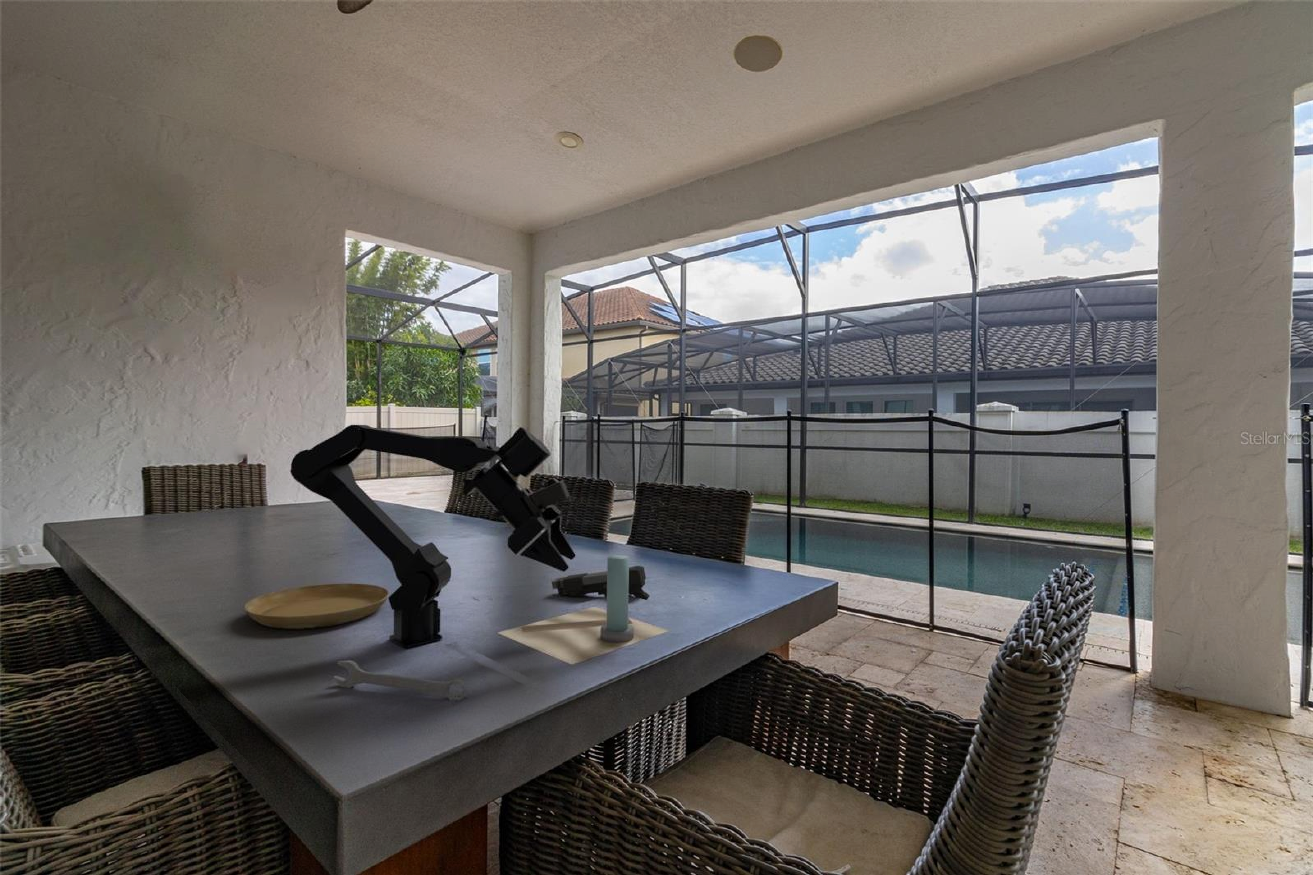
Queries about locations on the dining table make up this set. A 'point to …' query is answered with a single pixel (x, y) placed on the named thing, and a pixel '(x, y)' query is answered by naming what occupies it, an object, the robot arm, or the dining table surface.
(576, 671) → the dining table surface
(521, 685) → the dining table surface
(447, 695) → the combination wrench
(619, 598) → the marker post
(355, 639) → the dining table surface
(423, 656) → the dining table surface
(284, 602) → the plant saucer
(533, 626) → the board
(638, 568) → the gun
